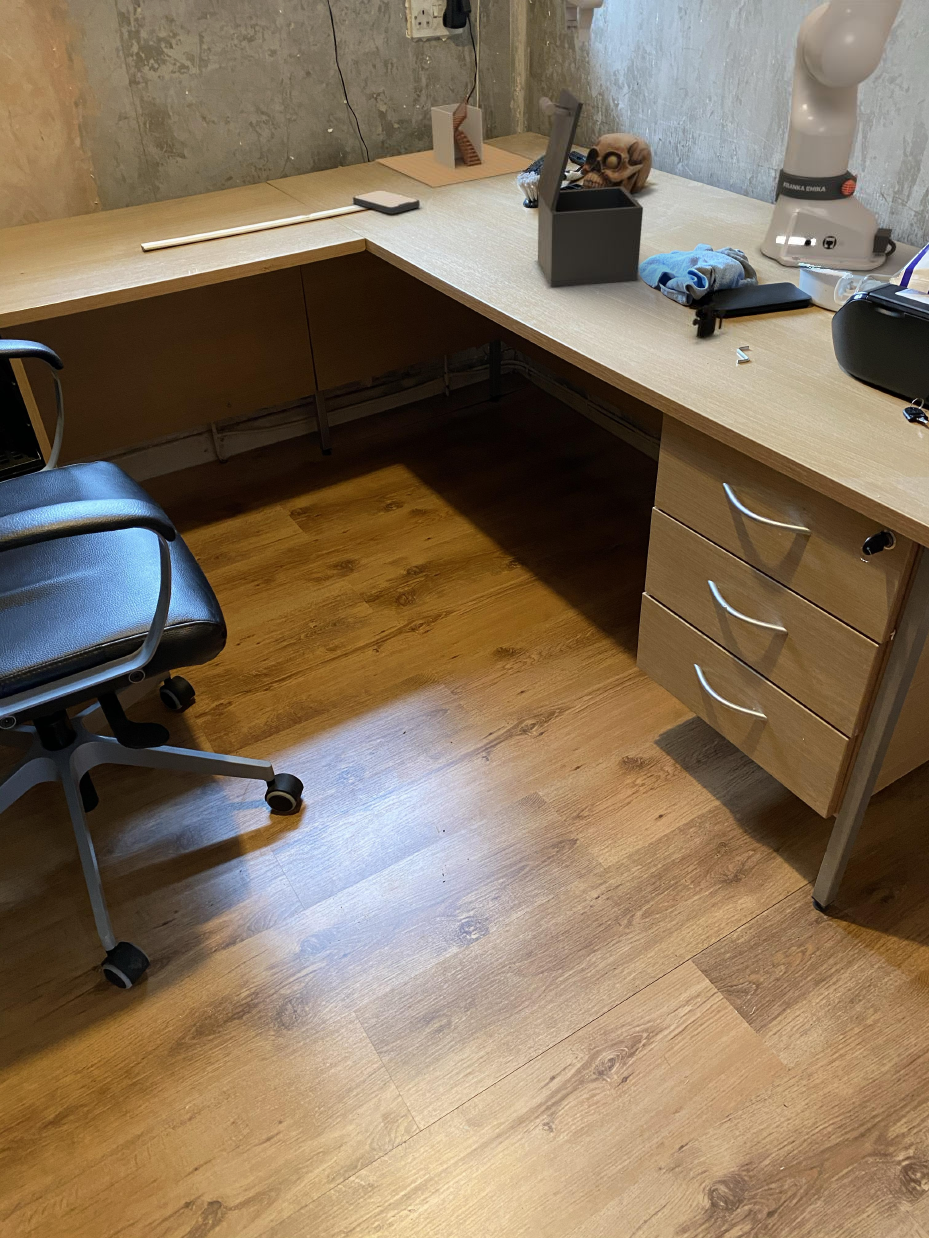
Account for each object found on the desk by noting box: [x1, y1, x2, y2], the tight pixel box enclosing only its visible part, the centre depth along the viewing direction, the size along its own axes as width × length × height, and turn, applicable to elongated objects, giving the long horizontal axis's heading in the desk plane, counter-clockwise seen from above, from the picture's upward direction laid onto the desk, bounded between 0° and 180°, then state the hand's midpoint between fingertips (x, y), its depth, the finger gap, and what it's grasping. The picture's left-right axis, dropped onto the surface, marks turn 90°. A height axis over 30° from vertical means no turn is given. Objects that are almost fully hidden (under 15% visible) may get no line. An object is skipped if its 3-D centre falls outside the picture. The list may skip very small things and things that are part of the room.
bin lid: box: [536, 87, 584, 212], centre depth 154 cm, size 17×14×5 cm
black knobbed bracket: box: [691, 302, 726, 339], centre depth 141 cm, size 7×2×5 cm, turn 125°
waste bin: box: [537, 186, 644, 288], centre depth 164 cm, size 16×14×12 cm
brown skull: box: [579, 132, 653, 194], centre depth 204 cm, size 16×17×13 cm
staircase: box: [430, 92, 485, 170], centre depth 232 cm, size 9×11×17 cm
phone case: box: [352, 190, 421, 215], centre depth 208 cm, size 9×2×16 cm
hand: (576, 37), depth 145 cm, fingers open, 8 cm apart
